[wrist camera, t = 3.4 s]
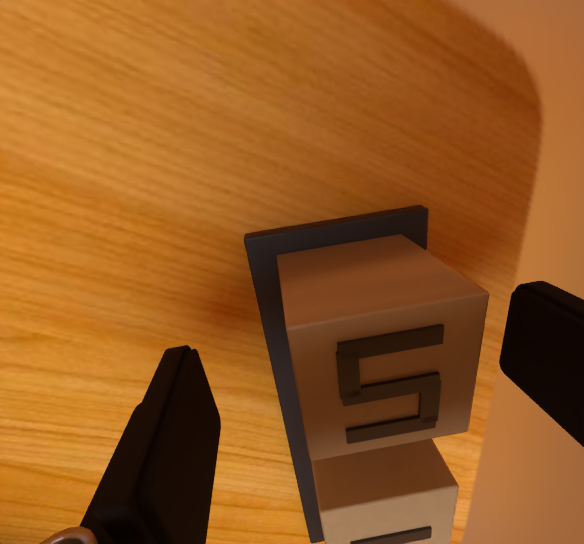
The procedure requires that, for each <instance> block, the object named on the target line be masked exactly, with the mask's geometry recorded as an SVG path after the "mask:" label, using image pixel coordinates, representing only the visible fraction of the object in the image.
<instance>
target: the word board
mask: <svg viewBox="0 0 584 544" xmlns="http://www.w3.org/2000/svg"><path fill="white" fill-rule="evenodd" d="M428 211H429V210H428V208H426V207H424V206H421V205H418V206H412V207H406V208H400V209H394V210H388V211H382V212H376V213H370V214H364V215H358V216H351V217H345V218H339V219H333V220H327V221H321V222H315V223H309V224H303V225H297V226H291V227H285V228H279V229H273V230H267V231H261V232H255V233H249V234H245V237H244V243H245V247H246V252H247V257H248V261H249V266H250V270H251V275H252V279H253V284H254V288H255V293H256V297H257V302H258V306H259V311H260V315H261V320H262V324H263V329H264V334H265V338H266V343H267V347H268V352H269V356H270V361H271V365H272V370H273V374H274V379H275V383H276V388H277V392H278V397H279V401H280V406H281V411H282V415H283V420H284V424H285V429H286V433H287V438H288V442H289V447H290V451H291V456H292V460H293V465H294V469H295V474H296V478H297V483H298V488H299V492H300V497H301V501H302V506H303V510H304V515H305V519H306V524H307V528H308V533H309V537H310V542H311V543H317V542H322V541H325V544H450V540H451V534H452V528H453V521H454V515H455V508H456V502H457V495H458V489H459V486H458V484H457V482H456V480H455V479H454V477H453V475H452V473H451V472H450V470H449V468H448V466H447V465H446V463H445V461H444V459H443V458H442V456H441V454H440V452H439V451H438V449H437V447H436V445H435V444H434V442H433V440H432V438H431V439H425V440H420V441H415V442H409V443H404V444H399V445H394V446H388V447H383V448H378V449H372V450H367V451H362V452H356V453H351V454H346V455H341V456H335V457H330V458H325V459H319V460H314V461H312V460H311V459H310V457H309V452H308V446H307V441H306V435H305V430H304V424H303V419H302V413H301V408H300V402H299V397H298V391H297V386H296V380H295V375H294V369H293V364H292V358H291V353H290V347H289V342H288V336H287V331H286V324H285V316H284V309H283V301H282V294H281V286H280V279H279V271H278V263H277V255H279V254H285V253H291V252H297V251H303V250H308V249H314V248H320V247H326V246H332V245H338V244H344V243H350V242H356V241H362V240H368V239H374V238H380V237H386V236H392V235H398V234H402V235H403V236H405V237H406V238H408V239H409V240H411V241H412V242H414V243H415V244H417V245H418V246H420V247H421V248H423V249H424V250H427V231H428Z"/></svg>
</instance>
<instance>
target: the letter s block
mask: <svg viewBox="0 0 584 544" xmlns="http://www.w3.org/2000/svg"><path fill="white" fill-rule="evenodd" d="M277 263H278V271H279V279H280V286H281V294H282V301H283V309H284V316H285V324H286V331H287V336H288V342H289V347H290V353H291V358H292V364H293V369H294V375H295V380H296V386H297V391H298V397H299V402H300V408H301V413H302V419H303V424H304V430H305V435H306V441H307V446H308V452H309V457H310V459H311V460H312V461H314V460H319V459H325V458H330V457H335V456H341V455H346V454H351V453H356V452H362V451H367V450H372V449H378V448H383V447H388V446H394V445H399V444H404V443H409V442H415V441H420V440H425V439H431V438H436V437H441V436H447V435H452V434H457V433H462V432H466V431H468V427H469V421H470V414H471V408H472V401H473V395H474V389H475V382H476V376H477V369H478V363H479V356H480V350H481V344H482V337H483V331H484V324H485V318H486V311H487V305H488V299H489V293H488V291H486V290H485V289H483V288H482V287H480V286H479V285H477V284H476V283H474V282H473V281H471V280H470V279H468V278H467V277H465V276H464V275H462V274H460V273H459V272H457V271H456V270H454V269H453V268H451V267H450V266H448V265H447V264H445V263H444V262H442V261H441V260H439V259H438V258H436V257H435V256H433V255H432V254H430V253H429V252H427V251H426V250H424V249H423V248H421V247H420V246H418V245H417V244H415V243H414V242H412V241H411V240H409V239H408V238H406V237H405V236H403V235H402V234H398V235H392V236H386V237H380V238H374V239H368V240H362V241H356V242H350V243H344V244H338V245H332V246H326V247H320V248H314V249H308V250H303V251H297V252H291V253H285V254H279V255H277Z"/></svg>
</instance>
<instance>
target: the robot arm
mask: <svg viewBox="0 0 584 544" xmlns="http://www.w3.org/2000/svg"><path fill="white" fill-rule="evenodd" d="M499 364H500V367H501V370H502V371H503V372H504V374H505V375H506V376H507V377H508V378H510V379H511V380H512V381H513V382H514V383H515V384H516V385H517V386H518V387H519V388H520V389H521V390H522V391H524V392H525V393H526V394H527V395H528V396H529V397H530V398H531V399H532V400H533V401H534V402H536V404H538V405H539V406H540V407H541V408H542V409H543V410H544V411H545V412H546V413H547V414H548V415H550V417H552V418H553V419H554V420H555V421H556V422H557V423H558V424H559V425H560V426H561V427H562V428H563V429H565V430H566V431H567V432H568V433H569V434H570V435H571V436H572V437H573V438H574V439H575V440H577V442H579V443H580V444H581V445H582V446H583V447H584V300H583V299H581V298H579V297H576V296H574V295H572V294H570V293H568V292H566V291H564V290H562V289H560V288H558V287H556V286H553V285H551V284H549V283H547V282H544V281H536V282H530V283H525V284H521V285H518V286H517V287H516V289H515V291H514V292H513V293H512V295H511V300H510V305H509V311H508V316H507V322H506V327H505V333H504V338H503V344H502V349H501V355H500V360H499ZM220 430H221V421H220V416H219V412H218V409H217V407H216V404H215V401H214V398H213V395H212V392H211V389H210V386H209V383H208V380H207V377H206V374H205V371H204V368H203V366H202V363H201V360H200V357H199V354H198V351H197V350H196V349H192V350H191V348H190V347H189V346H188V345H185V346H180V347H174V348H169V349H166V351H165V352H164V354H163V357H162V359H161V361H160V363H159V365H158V368H157V370H156V372H155V374H154V376H153V379H152V381H151V383H150V385H149V388H148V390H147V392H146V394H145V396H144V399H143V401H142V403H140V404H139V405H138V406H136V408H135V410H134V411H133V413H132V415H131V417H130V420H129V422H128V424H127V426H126V428H125V430H124V432H123V435H122V437H121V439H120V441H119V443H118V445H117V447H116V449H115V452H114V454H113V456H112V458H111V460H110V462H109V464H108V467H107V469H106V471H105V473H104V475H103V477H102V479H101V482H100V484H99V486H98V488H97V490H96V492H95V494H94V496H93V499H92V501H91V503H90V505H89V507H88V509H87V511H86V514H85V516H84V518H83V520H82V522H81V524H80V526H79V527H71V528H67V529H65V530H62V531H60V532H58V533H55V534H53V535H52V536H50V537H49V538H47V539H46V540H44V541H43V542H41V543H40V544H206V536H207V528H208V521H209V513H210V506H211V498H212V490H213V483H214V475H215V468H216V460H217V452H218V445H219V437H220Z"/></svg>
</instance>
